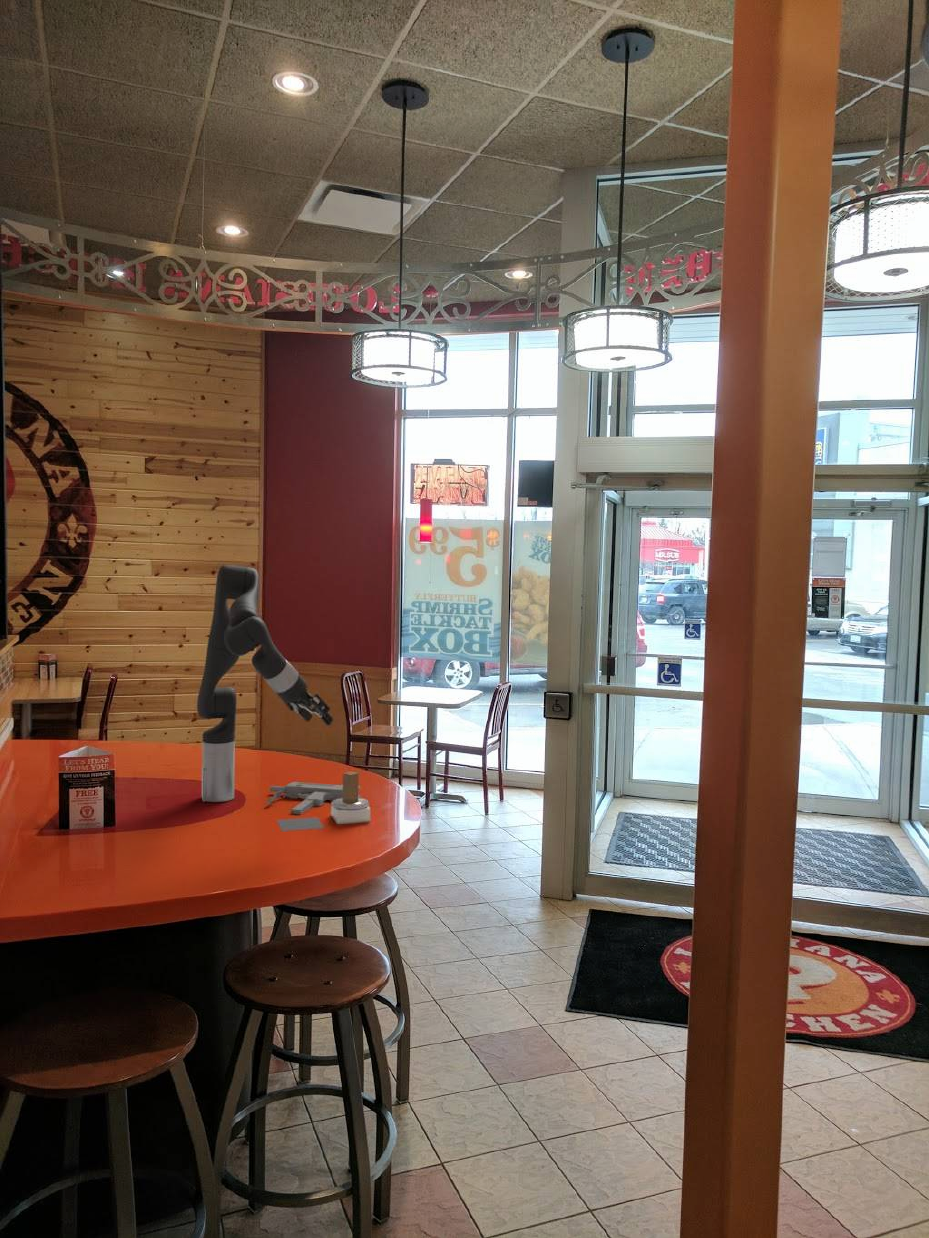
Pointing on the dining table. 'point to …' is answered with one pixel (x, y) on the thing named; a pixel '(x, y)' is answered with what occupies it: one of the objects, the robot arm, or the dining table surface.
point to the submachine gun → (308, 794)
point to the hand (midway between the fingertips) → (319, 720)
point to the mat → (300, 824)
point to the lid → (350, 794)
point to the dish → (350, 815)
